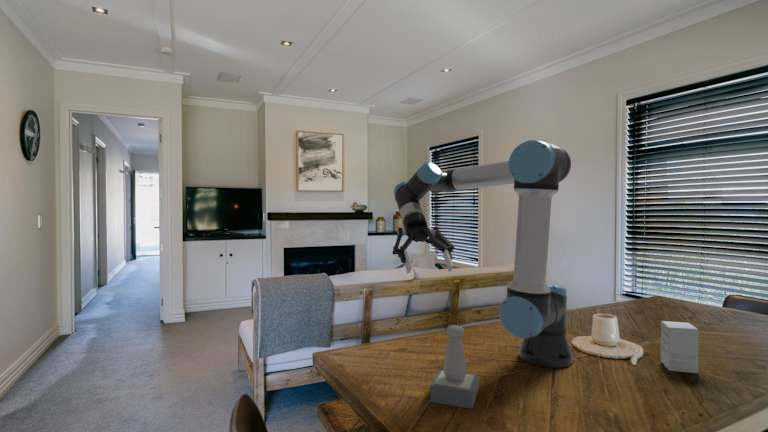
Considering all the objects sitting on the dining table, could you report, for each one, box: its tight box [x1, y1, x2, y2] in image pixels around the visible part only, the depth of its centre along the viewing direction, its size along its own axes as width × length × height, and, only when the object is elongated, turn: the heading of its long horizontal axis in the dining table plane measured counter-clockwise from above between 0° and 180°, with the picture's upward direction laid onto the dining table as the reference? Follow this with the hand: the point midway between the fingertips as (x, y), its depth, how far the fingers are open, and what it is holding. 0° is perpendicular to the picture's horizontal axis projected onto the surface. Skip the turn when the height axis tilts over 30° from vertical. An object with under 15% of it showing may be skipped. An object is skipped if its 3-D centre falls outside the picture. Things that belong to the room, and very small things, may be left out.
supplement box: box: [660, 320, 700, 374], centre depth 120 cm, size 7×7×13 cm
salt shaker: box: [442, 324, 468, 382], centre depth 102 cm, size 6×6×13 cm
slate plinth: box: [429, 369, 480, 410], centre depth 102 cm, size 10×10×4 cm
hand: (430, 269), depth 126 cm, fingers open, 13 cm apart
